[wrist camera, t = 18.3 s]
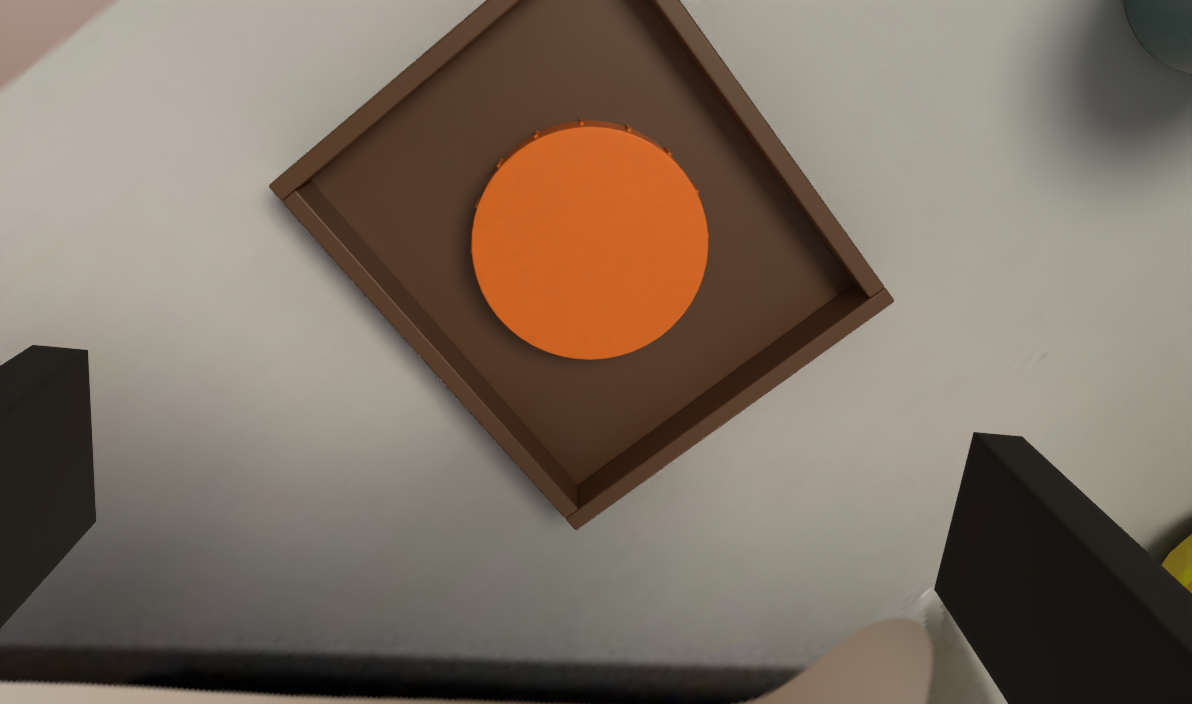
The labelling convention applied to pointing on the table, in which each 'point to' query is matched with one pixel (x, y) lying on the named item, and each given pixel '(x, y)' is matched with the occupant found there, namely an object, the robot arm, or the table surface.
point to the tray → (460, 175)
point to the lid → (589, 240)
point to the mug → (1181, 563)
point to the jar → (1164, 30)
